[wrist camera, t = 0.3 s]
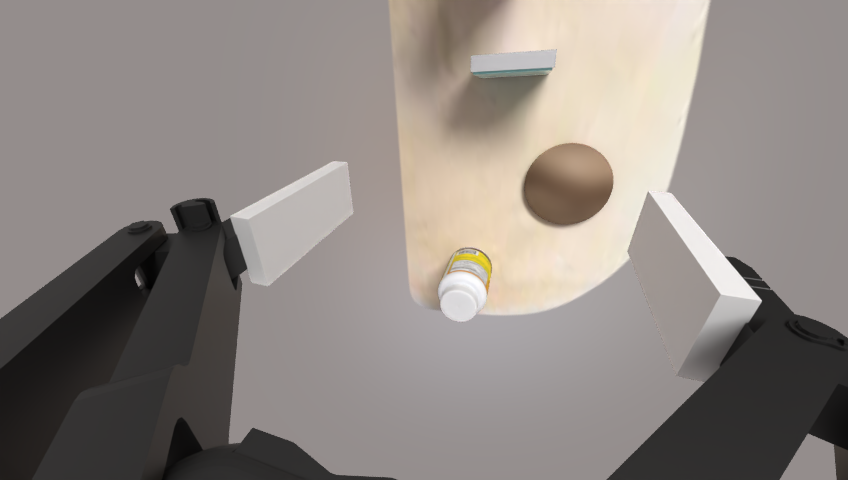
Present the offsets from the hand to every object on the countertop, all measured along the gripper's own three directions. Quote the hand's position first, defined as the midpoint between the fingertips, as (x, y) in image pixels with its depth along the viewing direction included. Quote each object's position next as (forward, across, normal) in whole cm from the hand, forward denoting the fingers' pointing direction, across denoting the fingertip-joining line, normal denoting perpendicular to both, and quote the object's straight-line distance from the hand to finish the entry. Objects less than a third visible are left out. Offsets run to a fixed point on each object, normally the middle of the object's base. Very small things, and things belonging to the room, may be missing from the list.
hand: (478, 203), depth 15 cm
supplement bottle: (+23, -4, -19) cm, 30 cm away
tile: (+26, -1, +4) cm, 26 cm away
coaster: (+25, +6, -7) cm, 27 cm away
